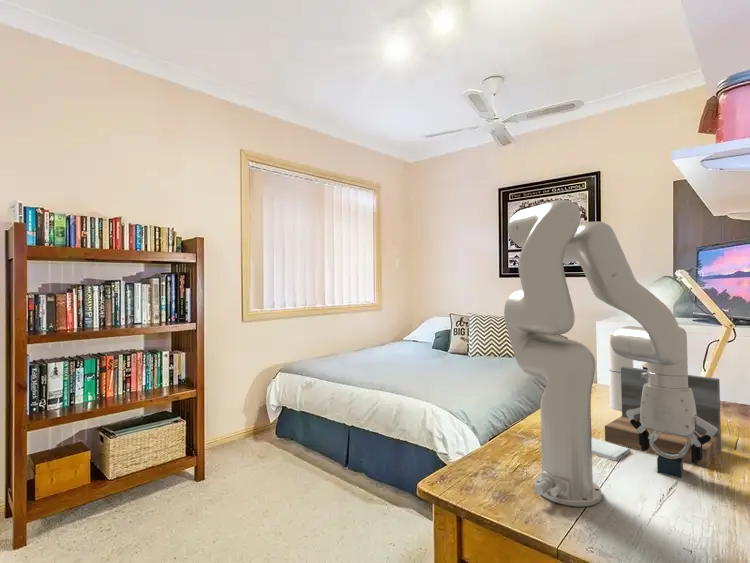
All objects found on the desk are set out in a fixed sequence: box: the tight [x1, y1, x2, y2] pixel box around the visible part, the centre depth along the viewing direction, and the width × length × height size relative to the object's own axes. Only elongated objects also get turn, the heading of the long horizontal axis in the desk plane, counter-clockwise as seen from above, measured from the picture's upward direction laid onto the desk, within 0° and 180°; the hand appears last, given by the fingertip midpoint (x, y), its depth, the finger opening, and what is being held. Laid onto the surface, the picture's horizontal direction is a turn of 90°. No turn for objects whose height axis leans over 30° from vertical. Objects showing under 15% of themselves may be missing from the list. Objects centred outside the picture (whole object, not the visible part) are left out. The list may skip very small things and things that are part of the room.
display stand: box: [604, 367, 722, 468], centre depth 109 cm, size 14×22×18 cm, turn 40°
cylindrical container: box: [607, 332, 634, 412], centre depth 141 cm, size 7×7×25 cm
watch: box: [648, 430, 691, 479], centre depth 95 cm, size 6×8×11 cm
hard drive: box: [592, 437, 631, 462], centre depth 108 cm, size 2×8×12 cm
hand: (669, 455), depth 95 cm, fingers open, 9 cm apart
